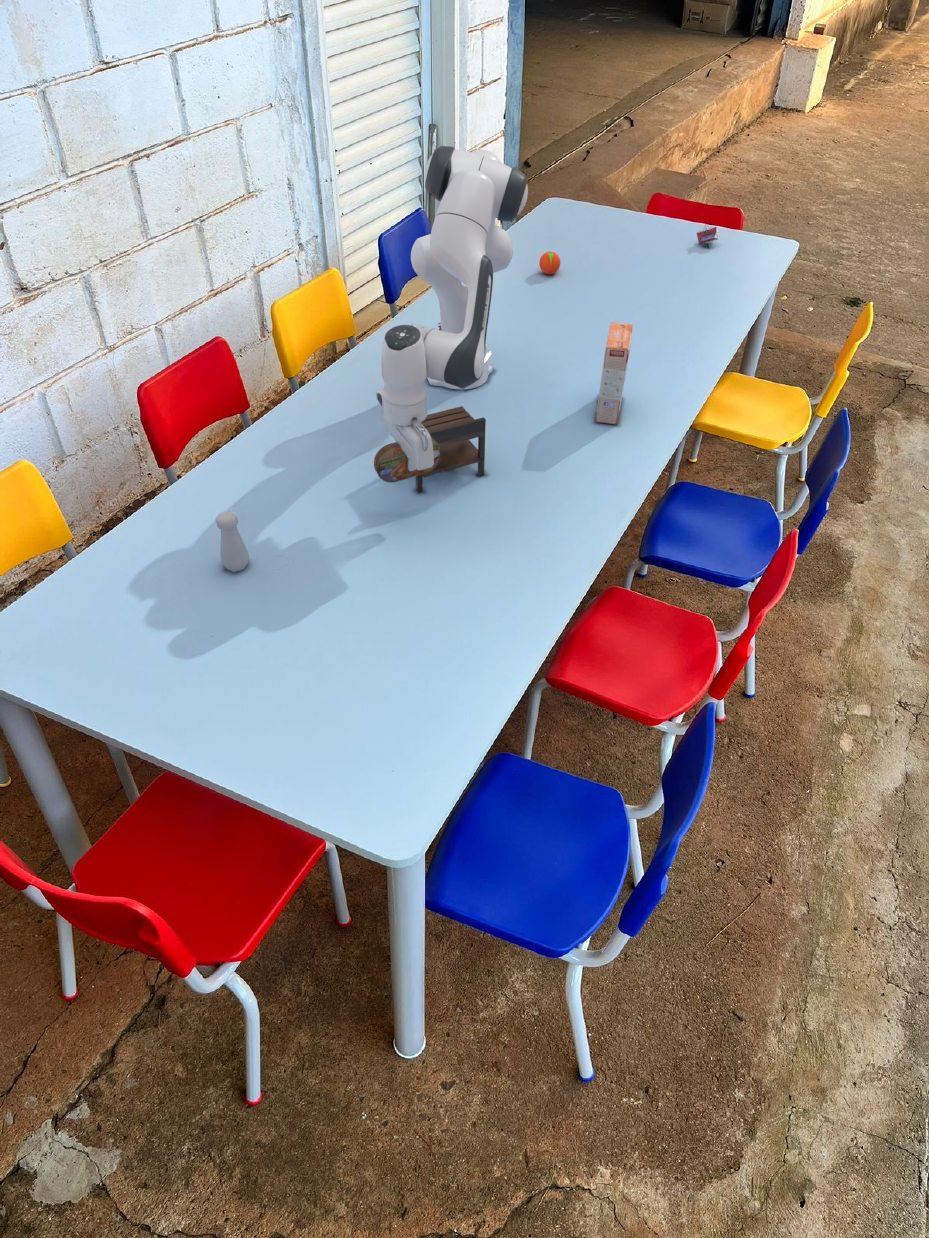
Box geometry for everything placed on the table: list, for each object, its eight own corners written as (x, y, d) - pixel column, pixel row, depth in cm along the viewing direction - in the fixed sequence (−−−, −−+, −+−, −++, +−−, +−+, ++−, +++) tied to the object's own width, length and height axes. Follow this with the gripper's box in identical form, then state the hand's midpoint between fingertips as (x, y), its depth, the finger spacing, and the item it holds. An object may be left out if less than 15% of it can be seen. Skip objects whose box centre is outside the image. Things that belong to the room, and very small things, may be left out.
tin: (378, 487, 190) (376, 454, 184) (372, 478, 192) (370, 446, 185) (442, 469, 194) (443, 437, 188) (436, 461, 196) (436, 429, 190)
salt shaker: (237, 578, 183) (226, 528, 174) (216, 568, 185) (204, 518, 176) (256, 562, 187) (246, 512, 178) (235, 553, 189) (224, 503, 180)
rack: (397, 466, 213) (394, 411, 202) (461, 449, 218) (462, 394, 208) (418, 493, 205) (416, 437, 194) (484, 475, 210) (485, 419, 200)
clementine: (560, 279, 291) (562, 257, 286) (539, 279, 291) (540, 257, 286) (558, 269, 296) (560, 247, 291) (538, 269, 296) (539, 247, 291)
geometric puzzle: (691, 241, 309) (709, 223, 304) (691, 234, 314) (708, 216, 309) (706, 255, 311) (724, 238, 306) (705, 247, 316) (723, 230, 311)
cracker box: (618, 426, 226) (629, 349, 212) (594, 423, 227) (604, 346, 213) (622, 398, 236) (633, 323, 222) (599, 395, 237) (609, 320, 223)
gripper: (441, 429, 176) (441, 486, 185) (400, 381, 189) (403, 437, 198) (411, 436, 174) (413, 494, 183) (372, 387, 187) (376, 443, 196)
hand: (407, 464), depth 191 cm, fingers closed on tin, 2 cm apart
